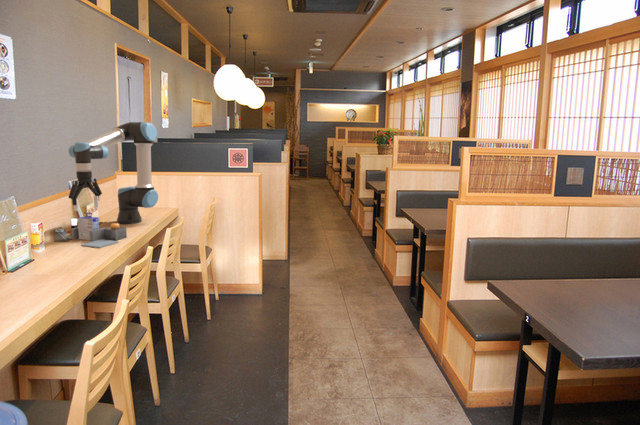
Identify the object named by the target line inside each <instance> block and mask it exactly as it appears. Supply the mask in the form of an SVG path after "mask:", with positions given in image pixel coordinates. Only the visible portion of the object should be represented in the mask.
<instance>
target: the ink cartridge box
mask: <svg viewBox="0 0 640 425" xmlns="http://www.w3.org/2000/svg"><path fill="white" fill-rule="evenodd" d="M99 219H100V218H99V216H93V212H86V213H85V216H81V217H77V225H78V226H77V227H78V231H79V239H78V240H87V241H88V240H89V241H91V240H90V231H92V230H96V229H100V220H99Z"/></svg>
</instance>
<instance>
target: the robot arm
mask: <svg viewBox="0 0 640 425" xmlns="http://www.w3.org/2000/svg"><path fill="white" fill-rule="evenodd" d="M157 138H158V131H157V128H156V126H155V125H154V124H153V123H151V122H148V121H147V122H146V121H139V122H137V121H135V122H133V121H131V122H130V121H129V122H125V123H123V124H120V125H118V126H116V127H114V128H113V129H112V130H111V131H108V132H107V133H104V134H102V135H99V136H97V137H94V138H92V139H90V140H87V141H82V142H80V141H79V142H78V141H77V142H75V143H74V144H72V145H70V146H69V148H68V154H69V156H70V157H71V158H73V159H74V160H75V161H74V162H75V169H76V179H77V180H72V185H71V188H70V192H69V193H68V194H69V195H68V199H71V200H72V201H71V203H72V206H73V211H74V212H80V209H79V206H80V205H79V199H78V197H79V195H80V193H81V191H82V190H83V189H86V188H88V189H89V190H90V192H92V194H93V207H94V208H98V209H99V208H100V196H102V194H103V192H102V190H101V188H100V186H99V183H98V182H97V178H93V171H92V160H103V159H107V158H108V156H109V149H108V147H111V146H112V145H114V144H117V143H123V142H126V141H127V142H128V141H133V144H134V145H135V148H136V183H137V184H136V185H134V186H125V187H120V188H118V189H117V201H118V213H117V217H116V223H119V225H128V224H129V225H130V224H138V223H141V222H142V221H143V218H142V216H141V214H140V211H139V208H144V209H147V208H148V209H150V208H153V207H155V206H156V204H157V203H158V201H159V193H158V192H157V190H155V186H154V185H153V184H152V146H153V145H154V141H155V140H156V139H157Z"/></svg>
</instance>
